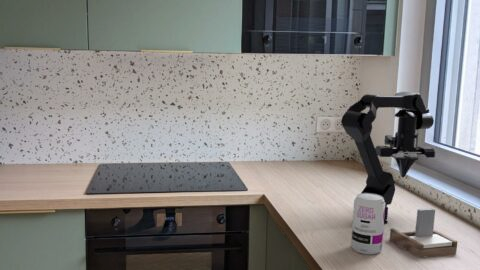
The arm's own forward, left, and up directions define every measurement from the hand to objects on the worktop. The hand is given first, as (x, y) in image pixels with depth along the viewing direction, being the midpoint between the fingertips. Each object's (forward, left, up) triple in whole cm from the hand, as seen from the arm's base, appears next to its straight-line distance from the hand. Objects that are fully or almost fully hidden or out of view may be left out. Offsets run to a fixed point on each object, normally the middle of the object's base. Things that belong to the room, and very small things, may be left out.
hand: (402, 177), depth 176 cm
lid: (-5, -32, -11) cm, 34 cm away
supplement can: (-23, -31, -13) cm, 41 cm away
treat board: (-6, -29, -13) cm, 33 cm away
